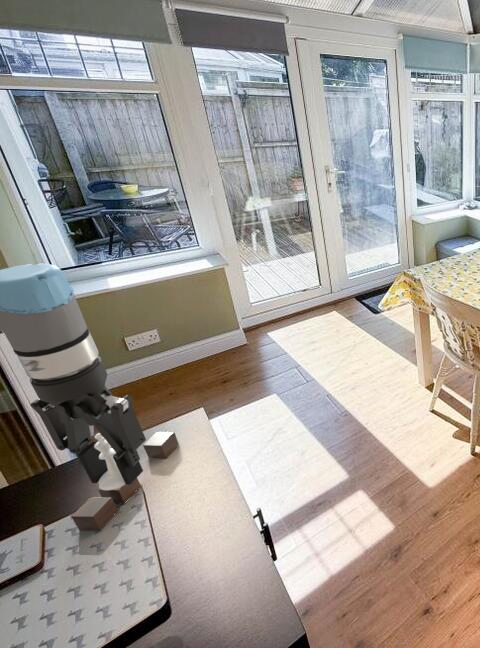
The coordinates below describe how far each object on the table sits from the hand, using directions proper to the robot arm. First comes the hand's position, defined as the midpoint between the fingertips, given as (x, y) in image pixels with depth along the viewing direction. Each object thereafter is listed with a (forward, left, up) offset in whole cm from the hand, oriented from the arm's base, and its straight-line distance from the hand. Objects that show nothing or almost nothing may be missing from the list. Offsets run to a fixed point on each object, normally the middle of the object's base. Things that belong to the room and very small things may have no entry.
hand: (118, 476), depth 70 cm
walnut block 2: (-12, +9, -16) cm, 22 cm away
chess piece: (0, 0, 0) cm, 0 cm away
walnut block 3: (-12, +20, -16) cm, 28 cm away
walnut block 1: (-12, +3, -16) cm, 20 cm away
